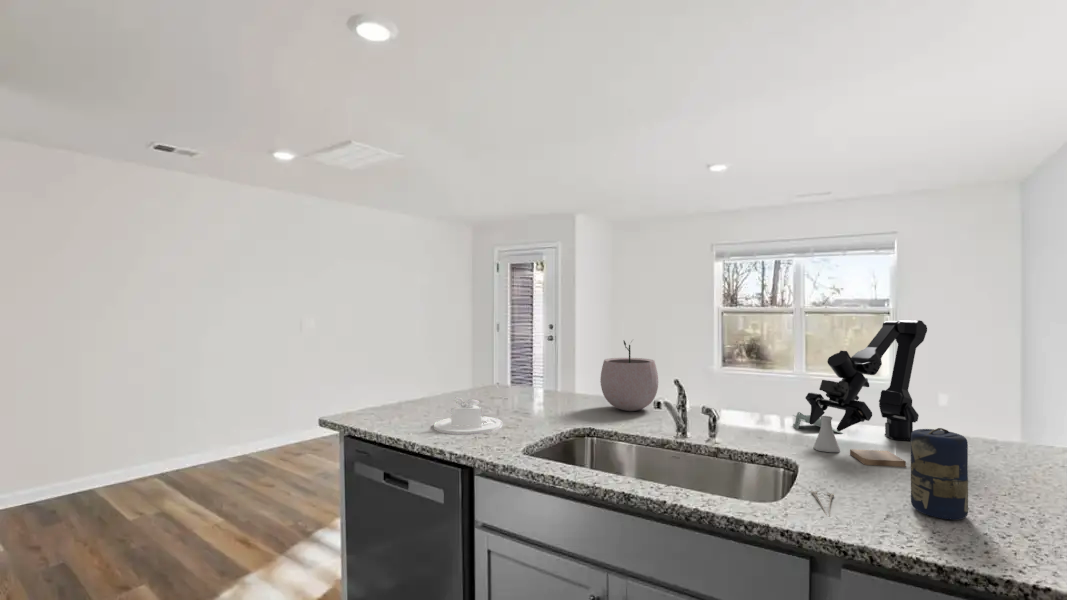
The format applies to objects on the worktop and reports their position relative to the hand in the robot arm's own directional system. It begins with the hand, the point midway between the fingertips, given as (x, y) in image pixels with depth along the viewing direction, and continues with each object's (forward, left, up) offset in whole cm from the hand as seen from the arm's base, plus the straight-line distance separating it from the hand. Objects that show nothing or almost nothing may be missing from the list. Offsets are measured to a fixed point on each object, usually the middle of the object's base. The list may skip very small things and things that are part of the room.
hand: (823, 426), depth 156 cm
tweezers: (+15, +47, -8) cm, 50 cm away
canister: (-7, +47, -7) cm, 48 cm away
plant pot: (+59, -51, -7) cm, 78 cm away
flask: (-1, -1, -7) cm, 7 cm away
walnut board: (-11, +8, -7) cm, 15 cm away
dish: (+116, -11, -7) cm, 117 cm away
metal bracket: (-6, -29, -8) cm, 31 cm away
